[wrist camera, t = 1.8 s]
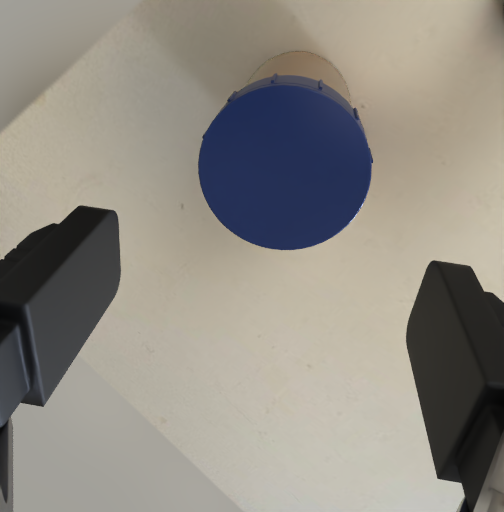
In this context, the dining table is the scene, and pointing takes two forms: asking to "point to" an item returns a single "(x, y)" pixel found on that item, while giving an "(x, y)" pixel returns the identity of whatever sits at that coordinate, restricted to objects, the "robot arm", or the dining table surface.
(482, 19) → the dining table surface
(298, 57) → the honey jar
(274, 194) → the jar lid
